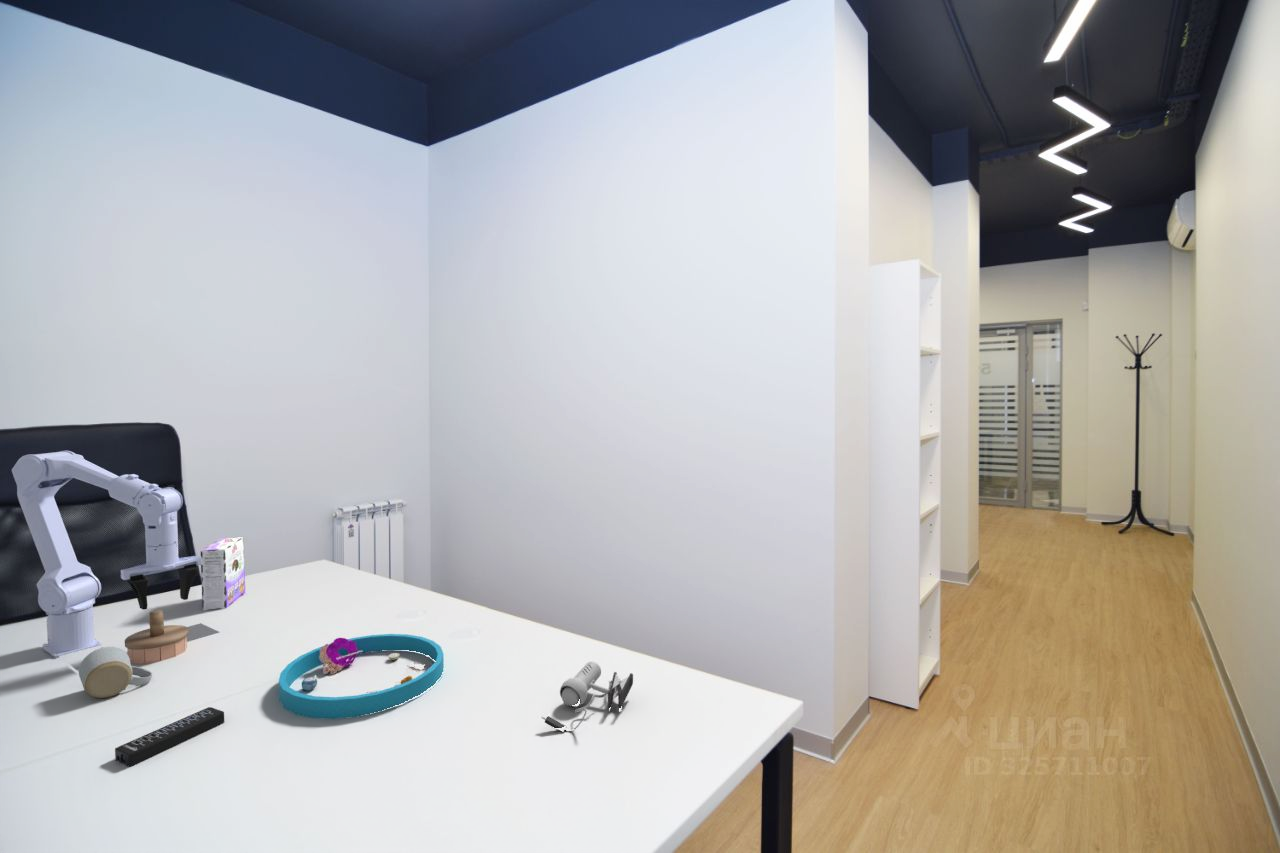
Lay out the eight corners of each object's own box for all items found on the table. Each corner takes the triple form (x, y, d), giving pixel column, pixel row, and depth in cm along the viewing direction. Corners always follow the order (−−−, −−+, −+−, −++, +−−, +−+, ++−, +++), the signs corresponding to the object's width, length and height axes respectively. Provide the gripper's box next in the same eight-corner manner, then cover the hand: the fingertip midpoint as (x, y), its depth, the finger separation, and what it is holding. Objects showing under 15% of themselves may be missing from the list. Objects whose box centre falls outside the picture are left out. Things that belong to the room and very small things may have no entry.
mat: (152, 638, 146) (152, 636, 146) (200, 624, 155) (200, 623, 154) (170, 648, 141) (170, 646, 141) (219, 633, 149) (219, 632, 149)
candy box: (222, 595, 177) (220, 537, 176) (246, 593, 178) (244, 536, 177) (201, 612, 163) (199, 549, 162) (226, 610, 165) (224, 548, 164)
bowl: (121, 657, 136) (120, 641, 135) (175, 642, 144) (174, 627, 144) (139, 669, 130) (139, 652, 130) (194, 652, 139) (194, 636, 138)
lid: (118, 640, 136) (117, 613, 136) (178, 625, 145) (177, 600, 144) (133, 654, 129) (132, 625, 129) (195, 637, 138) (194, 610, 138)
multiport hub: (225, 724, 110) (225, 711, 110) (130, 769, 97) (129, 755, 97) (210, 718, 112) (209, 706, 112) (114, 762, 99) (113, 748, 98)
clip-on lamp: (589, 758, 105) (638, 690, 120) (588, 727, 103) (638, 662, 118) (532, 734, 110) (586, 672, 125) (529, 705, 108) (585, 645, 123)
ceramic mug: (84, 706, 115) (83, 665, 115) (79, 691, 121) (77, 652, 120) (156, 687, 123) (155, 648, 122) (148, 674, 128) (147, 637, 128)
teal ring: (381, 640, 147) (381, 615, 146) (474, 670, 131) (474, 643, 131) (246, 693, 121) (245, 664, 121) (342, 739, 106) (341, 705, 105)
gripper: (128, 553, 131) (131, 616, 132) (206, 539, 143) (208, 598, 144) (116, 548, 135) (118, 610, 136) (193, 535, 147) (195, 592, 148)
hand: (164, 603), depth 140 cm, fingers open, 7 cm apart
